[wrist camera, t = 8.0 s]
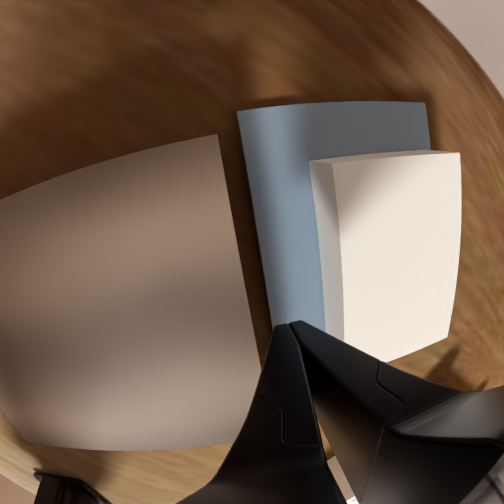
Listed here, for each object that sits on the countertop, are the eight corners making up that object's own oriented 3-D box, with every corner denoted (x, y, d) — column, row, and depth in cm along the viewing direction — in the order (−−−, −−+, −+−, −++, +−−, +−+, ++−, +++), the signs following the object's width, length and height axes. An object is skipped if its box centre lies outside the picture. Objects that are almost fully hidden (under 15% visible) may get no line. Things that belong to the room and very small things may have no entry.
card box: (343, 376, 12) (325, 344, 15) (447, 337, 13) (421, 313, 15) (332, 163, 9) (307, 161, 12) (459, 152, 10) (423, 149, 12)
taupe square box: (260, 378, 15) (274, 434, 12) (47, 399, 14) (26, 442, 11) (215, 140, 11) (217, 134, 8) (-33, 220, 10) (-81, 242, 7)
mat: (417, 344, 16) (421, 347, 16) (281, 387, 16) (282, 392, 15) (420, 103, 12) (425, 102, 11) (236, 112, 11) (237, 111, 11)
